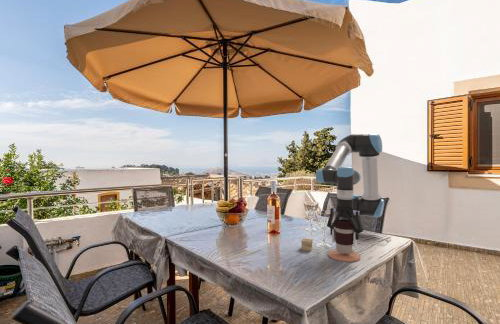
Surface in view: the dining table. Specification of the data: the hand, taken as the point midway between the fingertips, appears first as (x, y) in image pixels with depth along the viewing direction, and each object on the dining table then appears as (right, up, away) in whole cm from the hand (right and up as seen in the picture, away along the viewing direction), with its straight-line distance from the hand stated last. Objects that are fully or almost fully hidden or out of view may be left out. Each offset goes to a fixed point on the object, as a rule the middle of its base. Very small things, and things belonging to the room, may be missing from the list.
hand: (344, 243), depth 135 cm
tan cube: (-16, -6, +10) cm, 20 cm away
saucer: (0, -6, 0) cm, 6 cm away
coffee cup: (0, -4, 0) cm, 4 cm away
